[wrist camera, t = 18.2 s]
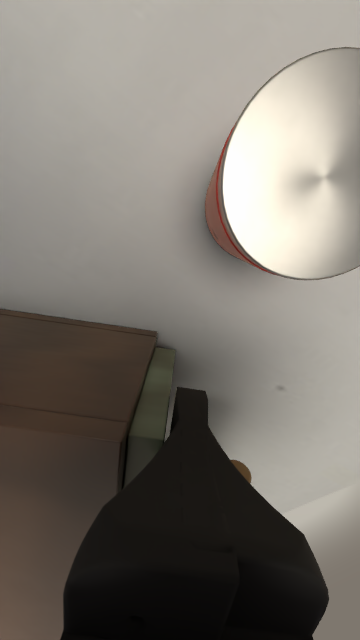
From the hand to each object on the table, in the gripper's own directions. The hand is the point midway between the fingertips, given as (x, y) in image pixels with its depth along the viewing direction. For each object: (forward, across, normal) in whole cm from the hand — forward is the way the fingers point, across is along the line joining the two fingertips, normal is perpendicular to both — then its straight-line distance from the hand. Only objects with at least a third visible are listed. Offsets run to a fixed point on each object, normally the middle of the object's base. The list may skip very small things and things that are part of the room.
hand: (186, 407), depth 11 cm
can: (+5, -2, -9) cm, 10 cm away
